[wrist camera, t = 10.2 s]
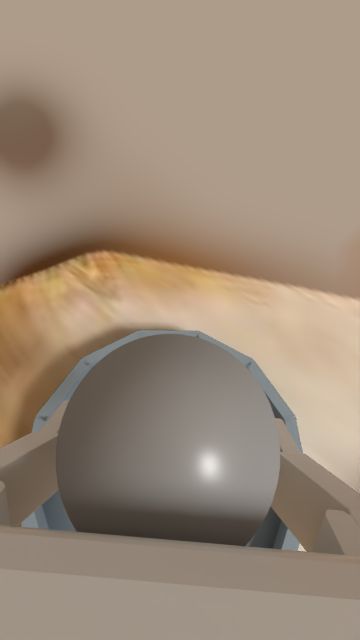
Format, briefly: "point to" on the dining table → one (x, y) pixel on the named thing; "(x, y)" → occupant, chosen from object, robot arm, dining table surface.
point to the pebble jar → (169, 445)
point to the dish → (53, 509)
